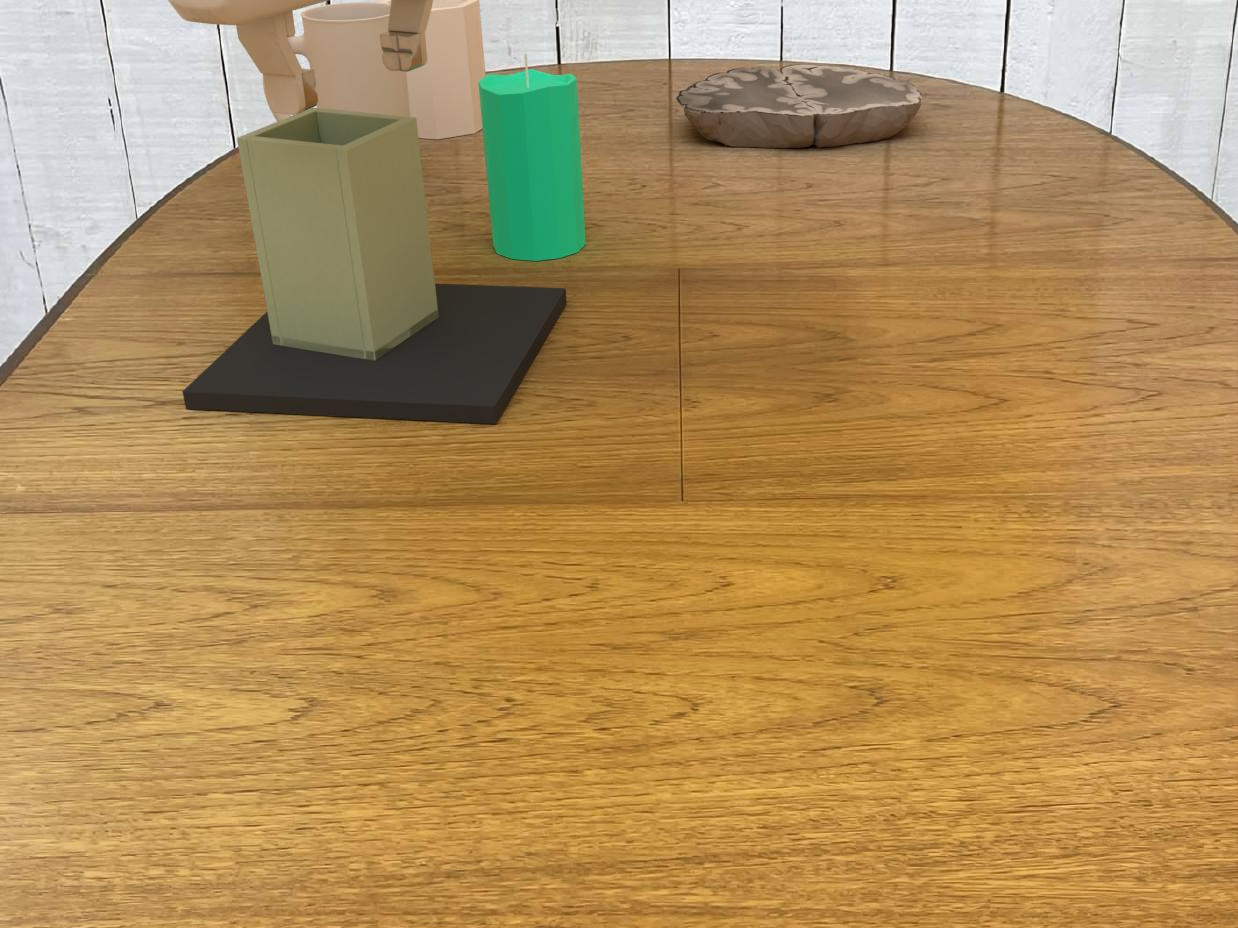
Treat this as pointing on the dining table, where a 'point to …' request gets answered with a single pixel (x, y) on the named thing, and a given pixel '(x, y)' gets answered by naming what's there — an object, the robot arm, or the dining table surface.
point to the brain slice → (799, 106)
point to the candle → (533, 164)
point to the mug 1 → (350, 59)
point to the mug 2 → (449, 72)
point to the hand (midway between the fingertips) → (353, 88)
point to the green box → (341, 230)
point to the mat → (395, 364)
